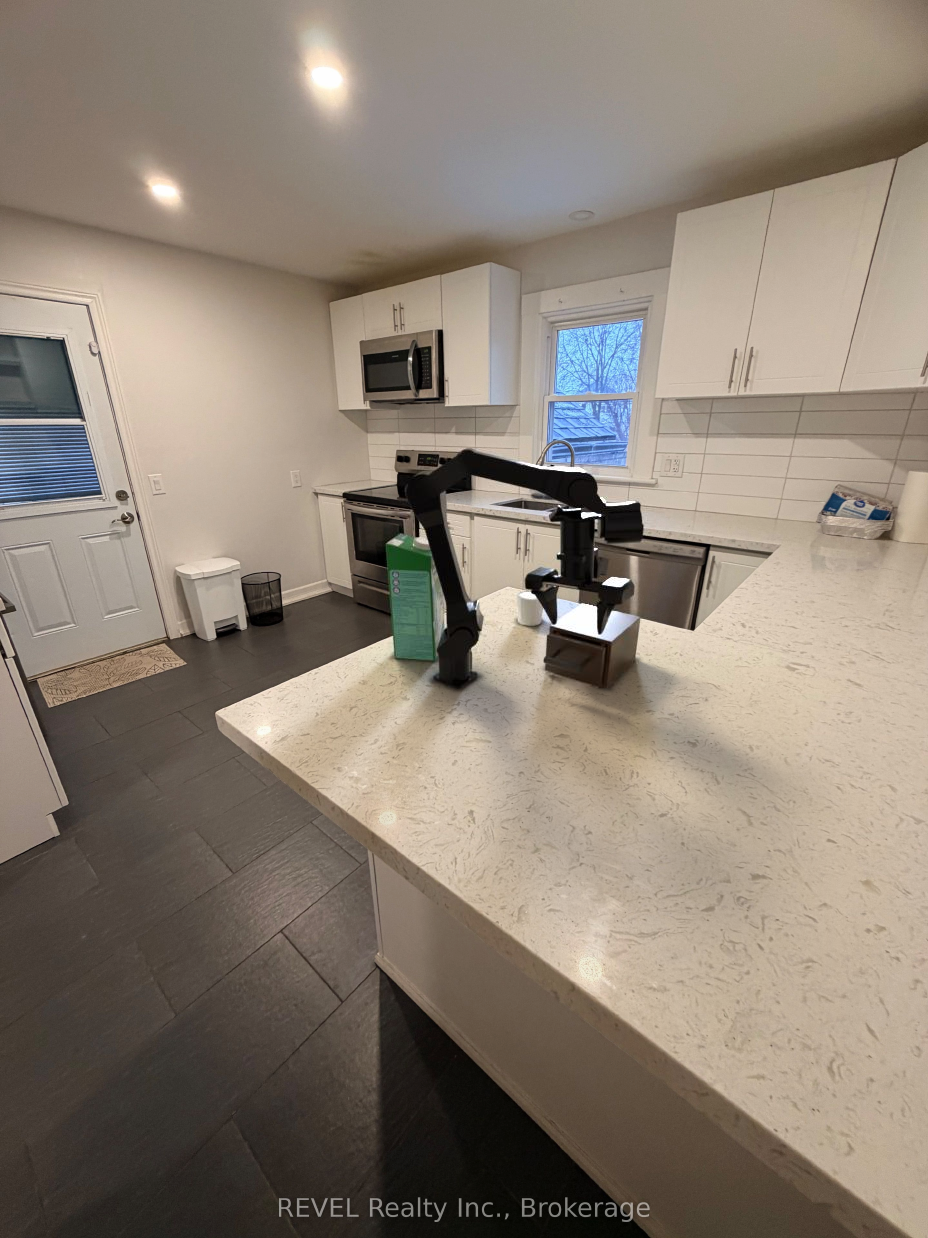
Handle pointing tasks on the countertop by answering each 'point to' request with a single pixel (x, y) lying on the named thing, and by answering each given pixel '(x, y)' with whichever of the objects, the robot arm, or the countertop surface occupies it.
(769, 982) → the countertop surface
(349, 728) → the countertop surface
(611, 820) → the countertop surface
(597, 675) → the drawer
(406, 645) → the milk carton
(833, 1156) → the countertop surface
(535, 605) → the white cup
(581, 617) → the cabinet
